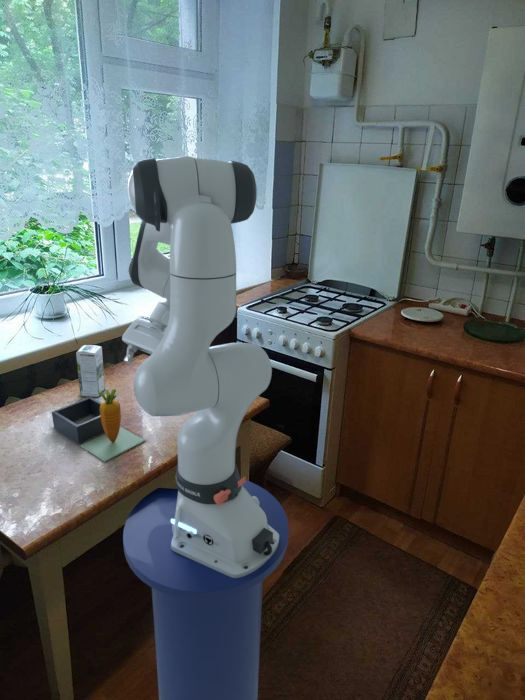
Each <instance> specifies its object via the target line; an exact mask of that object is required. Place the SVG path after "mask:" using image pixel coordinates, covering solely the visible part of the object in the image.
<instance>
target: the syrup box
mask: <svg viewBox="0 0 525 700" xmlns="http://www.w3.org/2000/svg"><path fill="white" fill-rule="evenodd" d="M75 357H76V367H77V375H78V387H79V396H80V397H92V398H94V397H97V398H99V397H100V396H101V395H100V394H99V391H101V392H102V393H104V390H106V383H105V371H104V360H103V359H104V358H103V347H102V346H100V345H93V344H84V345H82V346H81V347H80V348H79V349H78V350H77V351H76V353H75Z"/></svg>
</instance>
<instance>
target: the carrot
mask: <svg viewBox="0 0 525 700" xmlns="http://www.w3.org/2000/svg"><path fill="white" fill-rule="evenodd" d="M116 393H117V389H116V388H114V387H113V388H112V390H111V392H109V389H108V388H107V389H105V394H104V392H101V391H99V394H100V396H101V397H102V399H103V400H104V401H102V402H101V406H100V416H101V422H102V426H103V429H104V434H106V436H107V437H108V439H109V440H110V441H111V442H113V443H114V442H115V441H116V438H117V436H118V433H119V429H120V427H121V422H122V416H121V415H122V413H121V411H122V410H121V403H120V402H118V401H116V400H115V399H116V397H117V394H116Z"/></svg>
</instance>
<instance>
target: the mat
mask: <svg viewBox="0 0 525 700" xmlns="http://www.w3.org/2000/svg"><path fill="white" fill-rule="evenodd" d="M144 442H146V441H145V439H144V438H142V437H140V436H139V435H137V434H135V433H133V432H131V431H129V430H128V429H127V428H125V427H122V426H120V429H119V433H118V436H117V438H116V441H115V442H114V443H113V442H111V441H110V440H109V439H108V437H107V436H106V434H105V433H103V434H101V435H99V436H96V437H94V438H92V439H90V440H88V441H86V442H84V443H83V444H82V443H81V445H80V448H82V449H84V450H86V451H87V452H88V453H90V454H92V455H93V456H95V457H96V458H98V459H100V460H101V461H103V462H104V463H105V462H107V461H110V460H112V459H113V458H115V457H118V456H120V455H121V454H123V453H125V452H127V451H129V450H132V449H133V448H135V447H136V446H139V445H141V444H143V443H144Z"/></svg>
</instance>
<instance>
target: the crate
mask: <svg viewBox="0 0 525 700" xmlns="http://www.w3.org/2000/svg"><path fill="white" fill-rule="evenodd" d="M101 403H102V402H101V401H100V400H98V399H96V398H94V397H91V396H87V397H86V398H84V399H81V400H78V401H76V402H73V403H71V404H69V405H66V406H63V407H60V408H58V409H56V410H53V411H51V416H52V424H53V429H54V430H56V432H57V431H58V433H60V434H62V435H64V436H65V437H67V438H68V439H69V440H72V441H73V442H75V443H76V444H78V445H80V444H81V445H82V443H83V444H84V443H86V442H88V441H90V440H92V439H95V438H97V437H99V436H101V435H103V434H105V432H104V429H103V426H102V422H101V416H100V406H101ZM91 415H92V416H94V417H93V418H91V419H88V420H86V421H83V422H82V423H79V424H77V423H75V422H76V421H80V420H82V419H84V418H86V417H88V416H91Z"/></svg>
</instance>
